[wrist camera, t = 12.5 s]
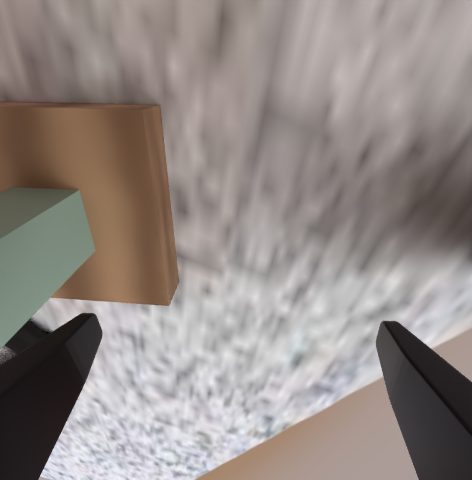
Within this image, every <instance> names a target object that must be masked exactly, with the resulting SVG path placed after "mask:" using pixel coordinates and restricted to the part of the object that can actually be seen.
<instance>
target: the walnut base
mask: <svg viewBox="0 0 472 480" xmlns="http://www.w3.org/2000/svg"><path fill="white" fill-rule="evenodd" d="M12 187H19V188H43V189H67V190H80V194H81V198H82V202H83V205H84V209H85V213H86V216H87V220H88V224H89V227H90V231H91V235H92V239H93V242H94V246H95V250H96V251H95V252H94V253H93V254H92V255H91V256H90V257H89V258H88V259H87V260H86V261H85V262H84V263H83V264H82V265H81V266H80V267H79V268H78V269H77V270H76V271H75V272H74V273H73V274H72V275H71V277H70V278H69V279H68V280H67V281H66V282H65V283H64V284H63V285H62V286H61V287H60V288H59V289H58V290H57V291H56V292H55V293H54V294H53V295H52V296H51V297H52V298H66V299H80V300H94V301H108V302H122V303H136V304H150V305H164V306H169V305H170V302H171V300H172V298H173V295H174V293H175V290H176V288H177V286H178V283H179V278H178V268H177V259H176V250H175V241H174V231H173V222H172V213H171V204H170V194H169V185H168V176H167V166H166V157H165V148H164V139H163V129H162V120H161V111H160V105H132V104H85V103H38V102H0V193H1V192H3V191H5V190H7V189H10V188H12Z"/></svg>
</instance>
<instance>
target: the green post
mask: <svg viewBox="0 0 472 480" xmlns="http://www.w3.org/2000/svg"><path fill="white" fill-rule="evenodd" d="M95 251H96V250H95V246H94V242H93V239H92V235H91V231H90V227H89V224H88V220H87V216H86V213H85V209H84V205H83V202H82V198H81V194H80V190H67V189H43V188H19V187H12V188H10V189H7V190H5V191H3V192H1V193H0V349H1V348H2V347H3V346H4V345H5V344H6V343H7V342H8V341H9V340H10V339H11V338H12V336H13V335H14V334H15V333H16V332H17V331H18V330H19V329H20V328H21V327H22V326H23V325H24V324H25V323H26V322H27V321H28V320H29V319H30V318H31V317H32V316H33V315H34V314H35V313H36V312H37V311H38V310H39V309H40V308H41V306H42V305H43V304H44V303H45V302H46V301H47V300H48V299H49V298H50V297H51V296H52V295H53V294H54V293H55V292H56V291H57V290H58V289H59V288H60V287H61V286H62V285H63V284H64V283H65V282H66V281H67V280H68V279H69V278H70V277H71V275H72V274H73V273H74V272H75V271H76V270H77V269H78V268H79V267H80V266H81V265H82V264H83V263H84V262H85V261H86V260H87V259H88V258H89V257H90V256H91V255H92V254H93V253H94V252H95Z"/></svg>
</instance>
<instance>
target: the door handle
mask: <svg viewBox="0 0 472 480" xmlns="http://www.w3.org/2000/svg"><path fill="white" fill-rule="evenodd" d="M47 335H48V334H46V333H45V332H43V331H42V330H40V329H39V328H38V327H36V326H35V325H34V324H32V323H31V322H30V321H27V322H26V323H25V324H24V325H23V326H22V327H21V328H20V329H19V330H18V331H17V332H16V333H15V334H14V335H13V336H12V338H11V339H10V340H9V341H8V342H7V343H6V344H5V345H4V346H3V347H2V348H4V349H7V350H10V351H12V352H14V353H16V354H19V353H20V352H22V351H23V350H25V349H26V348H28V347H30V346H31V345H33V344H34V343H36V342H37V341H39V340H41V339H42V338H44V337H45V336H47Z"/></svg>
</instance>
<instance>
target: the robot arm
mask: <svg viewBox="0 0 472 480" xmlns="http://www.w3.org/2000/svg"><path fill="white" fill-rule="evenodd" d="M101 339H102V329H101V326H100V324H99V321H98V319H97V316H96V315H95V314H93V313H82V314H80V315H78V316H76V317H75V318H73V319H72V320H70V321H69V322H67V323H66V324H64V325H62V326H61V327H59V328H58V329H56V330H55V331H53V332H51V333H50V334H48V335H47V336H45V337H44V338H42V339H41V340H39V341H37V342H36V343H34V344H33V345H31V346H30V347H28V348H26V349H25V350H23V351H22V352H20V353H19V354H17V355H16V356H14V357H12V358H11V359H9V360H8V361H6V362H5V363H3V364H2V365H0V480H38V479H39V477H40V475H41V473H42V471H43V469H44V467H45V465H46V463H47V461H48V458H49V456H50V454H51V452H52V450H53V448H54V446H55V444H56V442H57V440H58V438H59V436H60V434H61V432H62V430H63V428H64V426H65V423H66V421H67V419H68V417H69V415H70V413H71V411H72V409H73V407H74V405H75V403H76V401H77V399H78V397H79V395H80V393H81V391H82V388H83V386H84V384H85V382H86V379H87V377H88V374H89V371H90V369H91V366H92V363H93V361H94V358H95V355H96V353H97V350H98V347H99V345H100V342H101ZM376 348H377V352H378V356H379V360H380V364H381V368H382V372H383V376H384V380H385V384H386V387H387V391H388V395H389V399H390V402H391V405H392V408H393V411H394V413H395V416H396V419H397V421H398V424H399V427H400V430H401V432H402V435H403V438H404V440H405V443H406V446H407V449H408V451H409V454H410V457H411V459H412V462H413V465H414V468H415V470H416V473H417V476H418V478H419V480H472V382H471V381H470V380H469V379H467V378H466V377H465V376H464V375H462V374H461V373H460V372H459V371H458V370H456V369H455V368H454V367H453V366H451V365H450V364H449V363H448V362H446V361H445V360H444V359H443V358H442V357H440V356H439V355H438V354H437V353H435V352H434V351H433V350H432V349H431V348H429V347H428V346H427V345H426V344H424V343H423V342H422V341H421V340H419V339H418V338H417V337H416V336H415V335H413V334H412V333H411V332H410V331H408V330H407V329H406V328H405V327H404V326H402V325H401V324H400V323H398V322H396V321H382V322H381V324H380V327H379V331H378V335H377V339H376Z"/></svg>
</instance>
